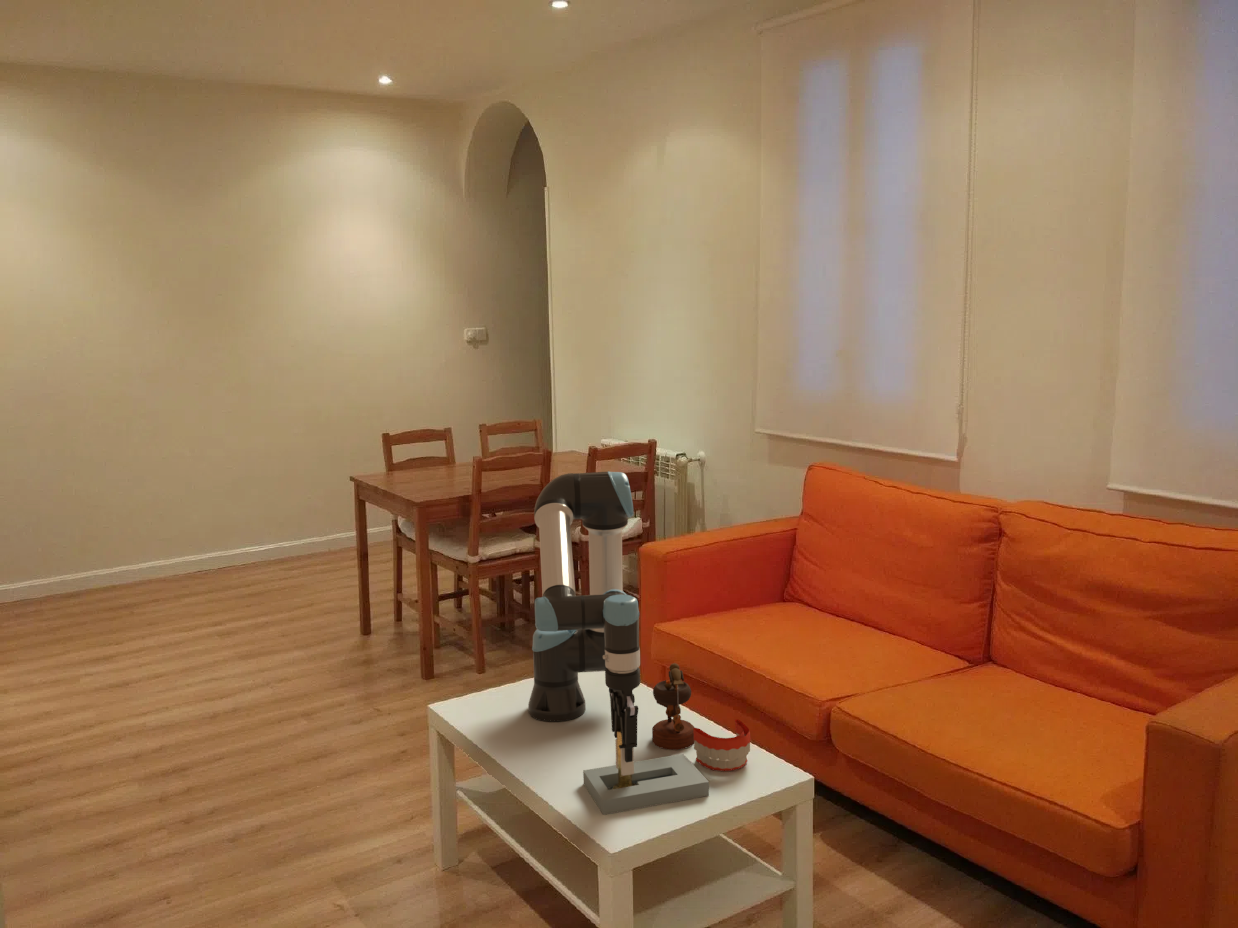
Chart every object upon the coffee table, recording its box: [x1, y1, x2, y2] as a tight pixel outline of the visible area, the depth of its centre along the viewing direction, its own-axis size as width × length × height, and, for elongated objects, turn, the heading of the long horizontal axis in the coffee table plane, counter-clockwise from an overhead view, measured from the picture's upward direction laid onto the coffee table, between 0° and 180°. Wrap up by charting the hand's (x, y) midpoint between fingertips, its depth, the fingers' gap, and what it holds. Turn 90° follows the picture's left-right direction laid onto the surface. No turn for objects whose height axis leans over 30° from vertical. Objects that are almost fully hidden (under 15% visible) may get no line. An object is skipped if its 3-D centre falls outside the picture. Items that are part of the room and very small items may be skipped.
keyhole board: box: [582, 753, 710, 815], centre depth 223 cm, size 15×24×3 cm, turn 108°
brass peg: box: [612, 730, 636, 789], centre depth 221 cm, size 6×6×14 cm
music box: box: [651, 662, 696, 751], centre depth 247 cm, size 15×11×20 cm
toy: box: [693, 718, 752, 772], centre depth 234 cm, size 12×10×8 cm
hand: (625, 770), depth 221 cm, fingers closed on brass peg, 3 cm apart
